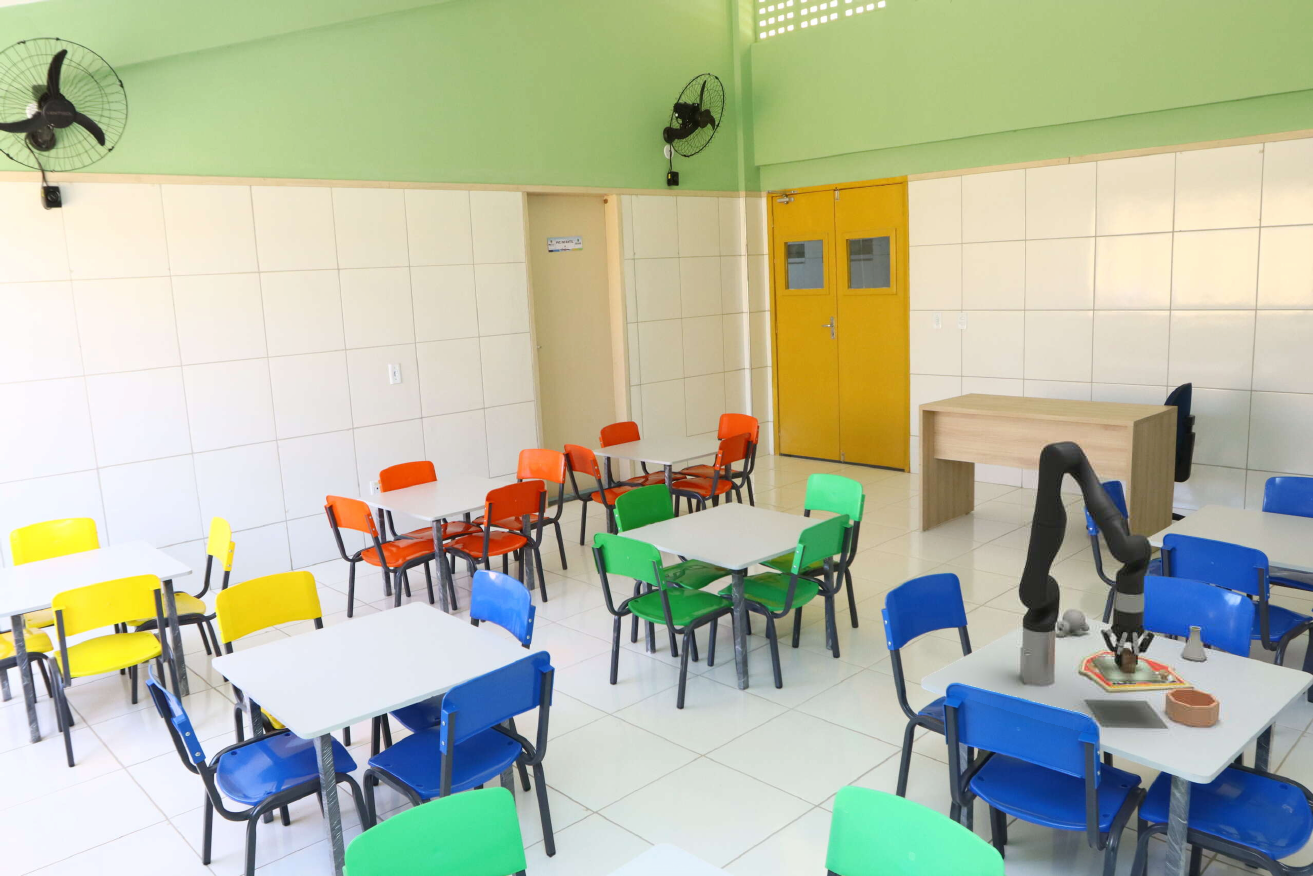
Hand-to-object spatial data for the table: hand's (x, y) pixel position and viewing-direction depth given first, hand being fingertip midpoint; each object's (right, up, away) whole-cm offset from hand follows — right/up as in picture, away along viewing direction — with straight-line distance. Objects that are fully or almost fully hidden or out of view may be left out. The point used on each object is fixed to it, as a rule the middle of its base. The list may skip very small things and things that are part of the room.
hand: (1125, 665), depth 260 cm
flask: (+41, -7, +38) cm, 56 cm away
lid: (0, -2, 0) cm, 2 cm away
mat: (+1, -14, +2) cm, 15 cm away
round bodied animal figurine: (+11, -4, +61) cm, 62 cm away
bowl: (+17, -14, -1) cm, 23 cm away
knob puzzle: (+15, -10, +30) cm, 35 cm away
